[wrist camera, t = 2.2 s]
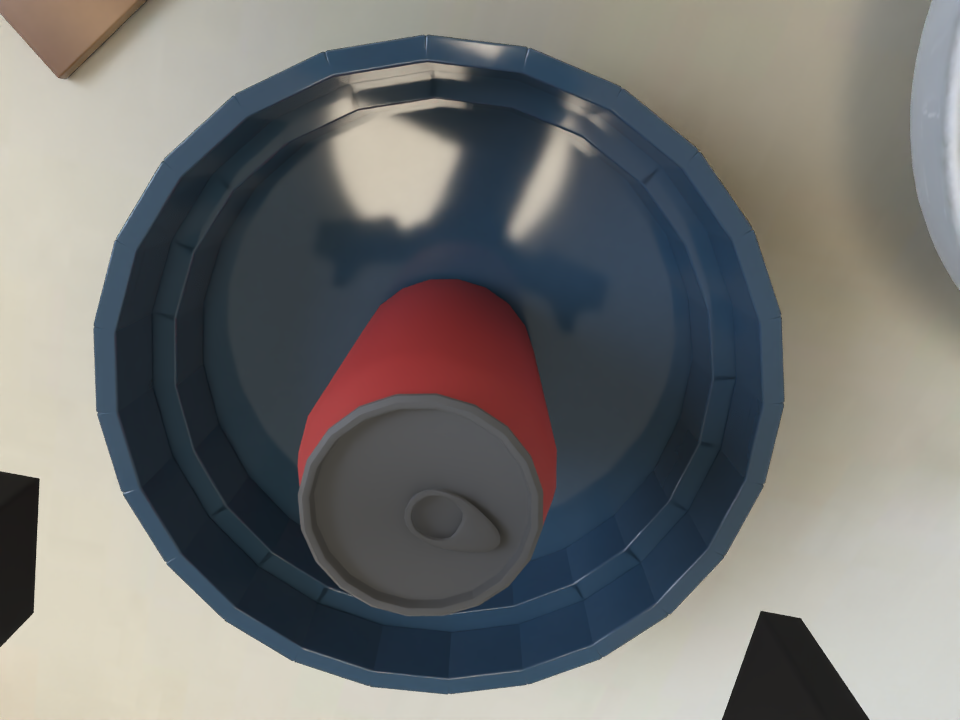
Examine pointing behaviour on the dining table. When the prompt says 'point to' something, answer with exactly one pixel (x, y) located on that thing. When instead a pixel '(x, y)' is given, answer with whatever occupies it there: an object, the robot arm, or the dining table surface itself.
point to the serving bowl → (938, 130)
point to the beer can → (429, 454)
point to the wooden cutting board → (66, 27)
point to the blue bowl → (413, 259)
